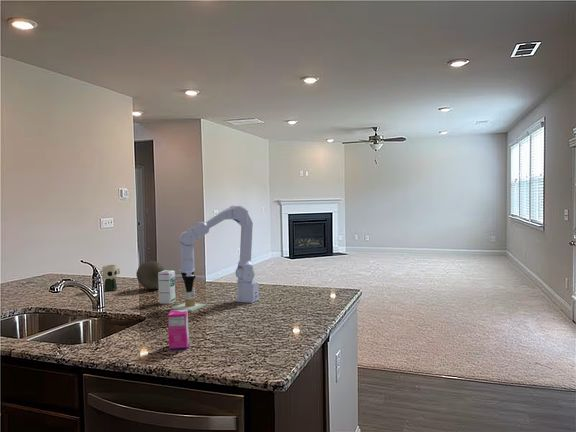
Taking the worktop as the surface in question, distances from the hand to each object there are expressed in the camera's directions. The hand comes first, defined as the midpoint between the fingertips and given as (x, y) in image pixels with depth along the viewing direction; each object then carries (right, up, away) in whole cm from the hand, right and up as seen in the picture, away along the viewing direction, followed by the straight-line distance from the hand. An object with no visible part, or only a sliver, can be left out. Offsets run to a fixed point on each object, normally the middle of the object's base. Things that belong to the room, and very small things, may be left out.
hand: (188, 290), depth 196 cm
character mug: (-50, -7, +40) cm, 64 cm away
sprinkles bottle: (+1, -7, +1) cm, 7 cm away
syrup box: (-12, -8, +11) cm, 18 cm away
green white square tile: (0, -8, 0) cm, 8 cm away
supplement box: (+8, -10, -51) cm, 53 cm away
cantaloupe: (-28, -7, +40) cm, 49 cm away
